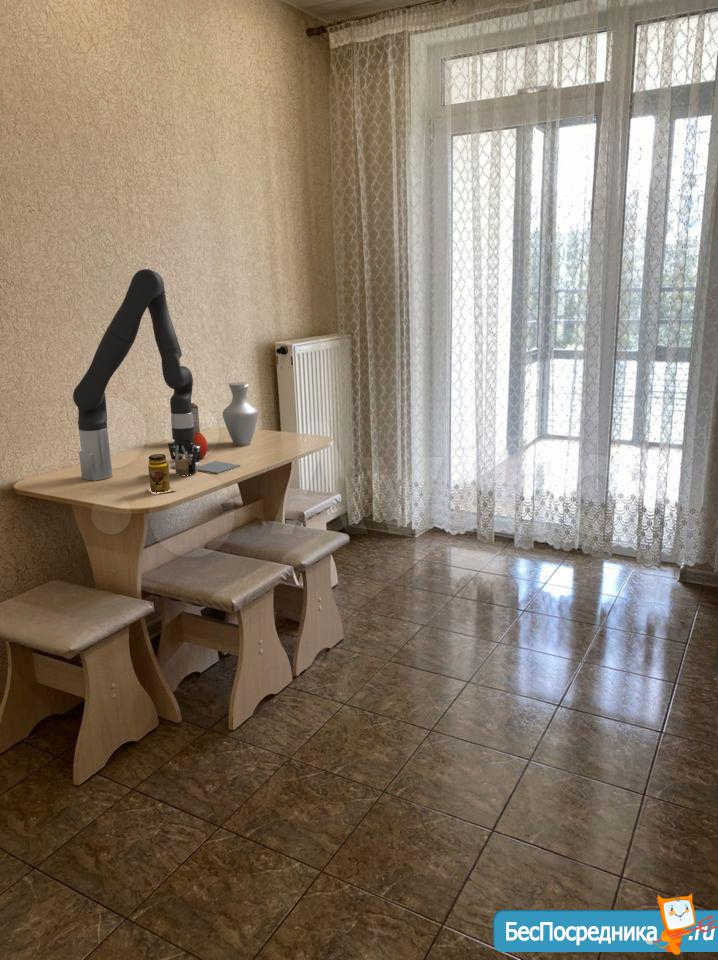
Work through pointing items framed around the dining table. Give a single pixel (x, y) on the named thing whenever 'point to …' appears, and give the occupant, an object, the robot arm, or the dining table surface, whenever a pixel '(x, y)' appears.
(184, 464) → the walnut block
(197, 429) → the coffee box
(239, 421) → the vase
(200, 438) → the red egg
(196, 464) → the saucer
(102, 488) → the dining table surface
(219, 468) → the slate pad
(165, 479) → the condiment
